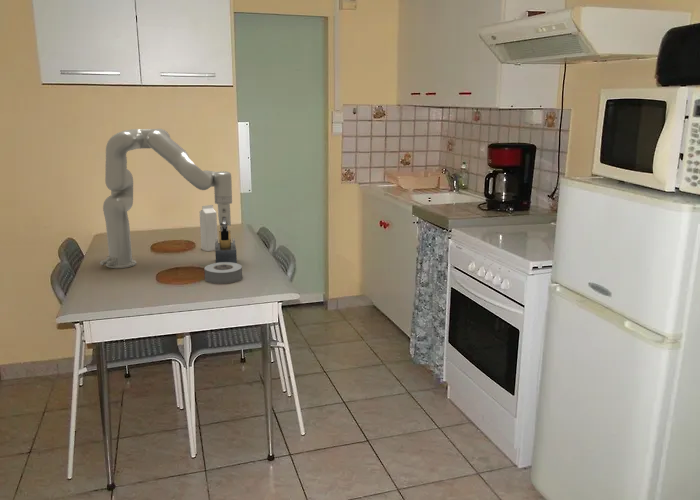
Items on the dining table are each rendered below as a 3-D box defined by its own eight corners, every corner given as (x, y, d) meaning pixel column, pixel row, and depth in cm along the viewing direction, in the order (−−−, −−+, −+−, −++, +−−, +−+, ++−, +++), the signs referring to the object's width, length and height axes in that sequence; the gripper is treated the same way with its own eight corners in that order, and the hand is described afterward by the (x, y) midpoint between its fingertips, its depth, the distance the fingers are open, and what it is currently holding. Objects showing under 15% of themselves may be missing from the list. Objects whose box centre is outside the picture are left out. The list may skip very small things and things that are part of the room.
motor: (236, 267, 266) (236, 243, 263) (216, 268, 264) (215, 243, 261) (235, 257, 282) (234, 234, 279) (215, 258, 280) (214, 235, 277)
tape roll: (247, 280, 247) (247, 269, 246) (211, 286, 239) (210, 274, 238) (235, 271, 260) (234, 260, 258) (200, 276, 252) (199, 264, 251)
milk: (218, 249, 296) (216, 205, 291) (207, 251, 292) (205, 207, 286) (211, 247, 300) (210, 203, 295) (200, 249, 296) (199, 205, 291)
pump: (226, 248, 266) (225, 231, 264) (217, 246, 268) (216, 229, 266) (233, 246, 270) (232, 229, 268) (224, 244, 273) (224, 227, 271)
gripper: (232, 202, 257) (233, 241, 261) (231, 196, 273) (232, 233, 277) (214, 203, 255) (216, 242, 259) (214, 196, 271) (215, 233, 276)
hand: (224, 237), depth 268 cm, fingers open, 9 cm apart
